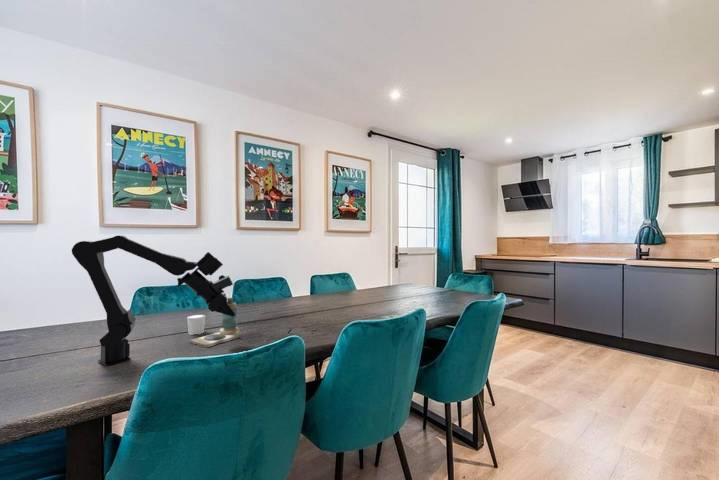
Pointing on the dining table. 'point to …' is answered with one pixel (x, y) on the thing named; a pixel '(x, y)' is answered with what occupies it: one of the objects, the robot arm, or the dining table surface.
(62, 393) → the dining table surface
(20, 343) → the dining table surface
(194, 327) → the white rounded piece
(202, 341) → the notched board
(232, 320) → the bobbin
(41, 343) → the dining table surface
